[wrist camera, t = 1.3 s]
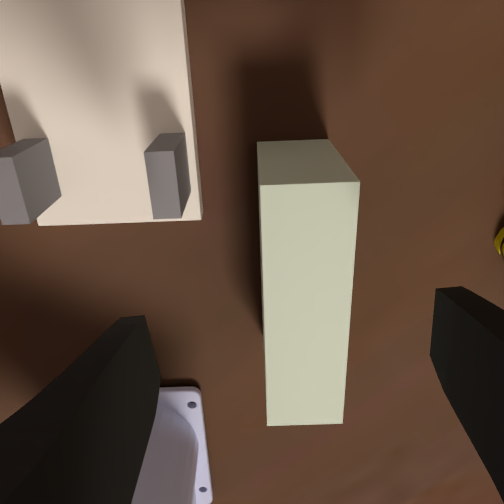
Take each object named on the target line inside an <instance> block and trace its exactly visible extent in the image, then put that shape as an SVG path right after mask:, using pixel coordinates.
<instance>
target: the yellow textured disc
mask: <svg viewBox="0 0 504 504" xmlns="http://www.w3.org/2000/svg"><path fill="white" fill-rule="evenodd" d="M503 238H504V227H503V228H502V229H501V230H500V232H499V233H498V234H497V236H496V238H495V241H494V245H495V248H496V251H499V253H500V245H501V242H502V240H503ZM502 251H503V255H504V243H503V247H502Z"/></svg>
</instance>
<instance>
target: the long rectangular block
mask: <svg viewBox="0 0 504 504" xmlns="http://www.w3.org/2000/svg"><path fill="white" fill-rule="evenodd" d="M257 163H258V194H259V225H260V256H261V288H262V319H263V345H264V366H265V388H266V409H267V426H280V425H311V424H342V423H343V409H344V395H345V381H346V368H347V354H348V340H349V327H350V313H351V299H352V285H353V272H354V258H355V244H356V230H357V217H358V203H359V189H360V181H359V180H358V178H357V177H356V176H355V174H354V173H353V171H352V170H351V169H350V167H349V166H348V165H347V163H346V162H345V161H344V159H343V158H342V157H341V155H340V154H339V153H338V151H337V150H336V149H335V147H334V146H333V144H332V143H331V142H330V140H329V139H317V140H291V141H265V142H257Z"/></svg>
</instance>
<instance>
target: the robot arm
mask: <svg viewBox="0 0 504 504" xmlns="http://www.w3.org/2000/svg"><path fill="white" fill-rule="evenodd" d="M430 357H431V359H432V362H433V365H434V367H435V370H436V373H437V376H438V378H439V380H440V383H441V385H442V388H443V390H444V392H445V394H446V396H447V398H448V400H449V402H450V404H451V406H452V407H453V409H454V411H455V413H456V415H457V417H458V418H459V420H460V422H461V424H462V426H463V427H464V429H465V431H466V433H467V435H468V436H469V438H470V440H471V442H472V444H473V445H474V447H475V449H476V451H477V453H478V454H479V456H480V458H481V460H482V462H483V463H484V465H485V467H486V469H487V471H488V472H489V474H490V476H491V478H492V480H493V482H494V484H495V486H496V488H497V490H498V492H499V494H500V496H501V498H502V500H503V503H504V310H503V309H501V308H500V307H498V306H496V305H494V304H493V303H491V302H489V301H488V300H486V299H484V298H482V297H481V296H479V295H477V294H475V293H474V292H472V291H470V290H468V289H466V288H464V287H462V286H459V287H449V288H438V289H436V292H435V303H434V315H433V326H432V337H431V348H430ZM160 381H161V376H160V372H159V369H158V365H157V361H156V357H155V353H154V350H153V346H152V342H151V338H150V334H149V331H148V327H147V323H146V319H145V315H144V316H133V317H122V318H120V319H119V320H117V321H116V322H115V323H114V324H113V325H112V326H111V327H110V328H109V329H108V330H107V331H106V332H105V333H104V334H102V335H101V336H100V337H99V338H98V339H97V340H96V341H95V342H94V343H93V344H92V345H91V346H90V347H89V348H88V349H87V350H86V351H85V352H84V353H83V354H82V355H81V356H80V357H79V358H78V359H77V360H75V361H74V362H73V363H72V364H71V365H70V366H69V367H68V368H67V369H66V370H65V371H64V372H63V373H61V374H60V375H59V376H58V377H57V378H56V379H55V380H53V381H52V382H51V383H50V384H49V385H48V386H47V387H45V388H44V389H43V390H42V391H41V392H40V393H39V394H37V395H36V396H35V397H34V398H33V399H32V400H30V401H29V402H28V403H27V404H25V405H24V406H23V407H22V408H20V409H19V410H18V411H17V412H15V413H14V414H13V415H12V416H10V417H9V418H7V419H6V420H5V421H3V422H2V423H1V424H0V504H210V503H211V502H212V498H213V492H212V484H211V475H210V467H209V458H208V449H207V441H206V432H205V423H204V415H203V406H202V398H201V392H200V390H199V389H198V388H196V387H161V388H160ZM191 401H192V402H195V403H190V402H191Z"/></svg>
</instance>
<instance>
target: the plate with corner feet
mask: <svg viewBox="0 0 504 504" xmlns="http://www.w3.org/2000/svg"><path fill="white" fill-rule="evenodd" d="M0 85H1V88H2V92H3V96H4V99H5V103H6V107H7V111H8V114H9V118H10V122H11V125H12V129H13V133H14V136H15V140H16V142H15V143H13V144H11V145H9V146H7V147H5V148H3V149H1V150H0V219H1V222H2V225H13V224H31V223H32V222H33V221H34V220H35V219H36V218H37V222H38V225H39V226H50V225H77V224H104V223H131V222H158V221H185V220H201V218H202V215H203V203H202V192H201V181H200V170H199V159H198V148H197V137H196V126H195V115H194V104H193V93H192V82H191V71H190V60H189V50H188V39H187V28H186V17H185V6H184V0H0Z"/></svg>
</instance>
